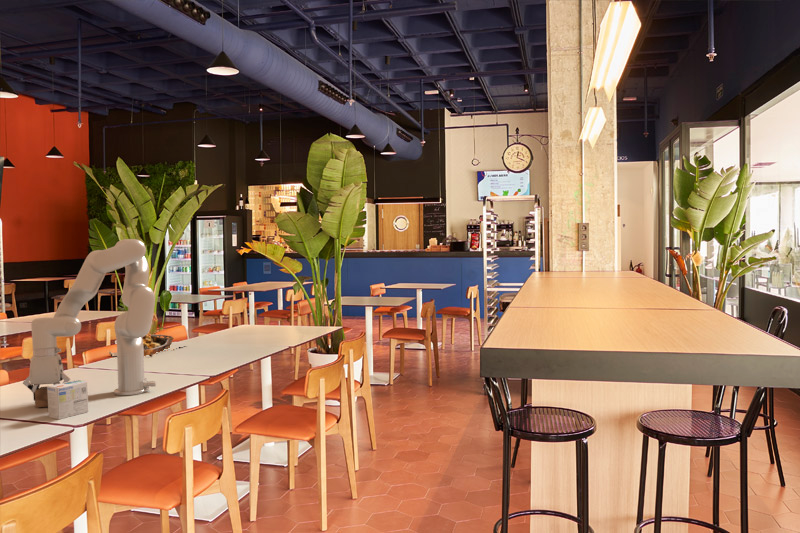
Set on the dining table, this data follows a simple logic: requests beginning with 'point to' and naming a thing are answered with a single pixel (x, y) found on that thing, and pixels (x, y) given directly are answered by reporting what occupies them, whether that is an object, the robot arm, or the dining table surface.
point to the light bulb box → (67, 399)
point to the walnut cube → (41, 397)
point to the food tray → (153, 344)
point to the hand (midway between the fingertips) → (47, 401)
